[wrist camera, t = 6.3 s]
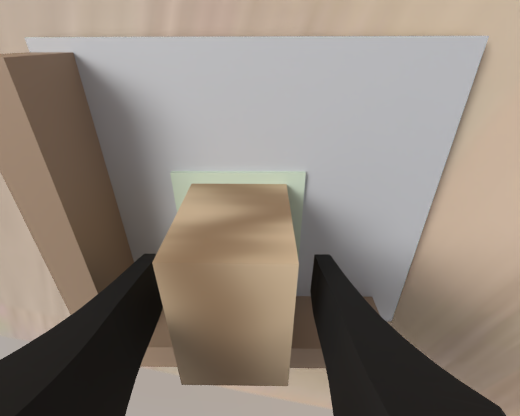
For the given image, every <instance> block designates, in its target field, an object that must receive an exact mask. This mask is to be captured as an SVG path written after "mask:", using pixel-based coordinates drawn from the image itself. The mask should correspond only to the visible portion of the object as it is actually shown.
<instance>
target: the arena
mask: <svg viewBox="0 0 520 416" xmlns="http://www.w3.org/2000/svg"><path fill="white" fill-rule="evenodd" d="M488 37H489V36H271V37H25V40H26V43H27V46H28V48H29V51H30V52H29V53H12V54H0V172H1V174H2V176H3V178H4V180H5V182H6V184H7V186H8V188H9V190H10V192H11V194H12V196H13V198H14V200H15V202H16V204H17V206H18V208H19V210H20V212H21V214H22V216H23V219H24V221H25V223H26V225H27V227H28V229H29V231H30V233H31V235H32V237H33V239H34V241H35V243H36V245H37V247H38V249H39V251H40V253H41V255H42V257H43V259H44V261H45V263H46V265H47V267H48V269H49V271H50V273H51V275H52V277H53V279H54V282H55V284H56V286H57V288H58V290H59V292H60V294H61V296H62V298H63V300H64V302H65V304H66V306H67V308H68V310H69V312H70V314H71V315H72V314H73V313H75V312H76V311H77V310H79V309H80V308H81V307H83V306H84V305H85V304H86V303H88V302H89V301H90V300H91V299H92V298H94V297H95V296H96V295H97V294H99V293H100V292H101V291H102V290H104V289H105V288H106V287H107V286H108V285H109V284H111V283H112V282H113V281H114V280H115V279H116V278H117V277H119V276H120V275H121V274H122V273H123V272H124V271H125V270H126V269H127V268H129V267H130V266H131V265H132V264H133V263H134V262H135V261H136V260H137V259H139V258H140V257H141V256H142V255H143V254H157V252H158V250H159V248H160V246H161V244H162V242H163V240H164V238H165V236H166V234H167V232H168V230H169V228H170V226H171V224H172V222H173V220H174V218H175V216H176V214H177V212H178V210H179V208H180V206H181V204H182V202H183V200H184V198H185V196H186V194H187V192H188V190H189V188H190V186H191V184H287V191H288V197H289V203H290V210H291V216H292V223H293V229H294V235H295V242H296V248H297V255H298V261H299V269H298V280H297V291H296V302H295V313H294V324H293V335H292V346H291V357H290V368H326V366H325V361H324V357H323V353H322V349H321V345H320V341H319V337H318V333H317V328H316V324H315V320H314V316H313V309H312V301H311V293H310V289H311V280H312V272H313V263H314V255H315V254H330V255H331V256H332V258H333V259H334V261H335V262H336V263H337V265H338V266H339V268H340V269H341V270H342V272H343V273H344V274H345V275H346V277H347V278H348V279H349V281H350V282H351V283H352V284H353V286H354V287H355V288H356V289H357V290H358V292H359V293H360V294H361V295H362V296H363V298H364V299H365V300H366V301H367V302H368V303H369V304H370V305H371V306H372V307H373V309H374V310H375V311H376V312H377V313H378V314H379V315H380V316H381V317H382V318H383V319H384V320H385V321H392V318H393V315H394V312H395V310H396V307H397V304H398V301H399V298H400V295H401V292H402V289H403V286H404V283H405V280H406V277H407V274H408V271H409V269H410V266H411V263H412V260H413V257H414V254H415V251H416V248H417V245H418V242H419V239H420V236H421V233H422V230H423V228H424V225H425V222H426V219H427V216H428V213H429V210H430V207H431V204H432V201H433V198H434V195H435V192H436V189H437V187H438V184H439V181H440V178H441V175H442V172H443V169H444V166H445V163H446V160H447V157H448V154H449V151H450V148H451V146H452V143H453V140H454V137H455V134H456V131H457V128H458V125H459V122H460V119H461V116H462V113H463V110H464V107H465V105H466V102H467V99H468V96H469V93H470V90H471V87H472V84H473V81H474V78H475V75H476V72H477V69H478V66H479V64H480V61H481V58H482V55H483V52H484V49H485V46H486V43H487V40H488ZM140 366H148V367H177V363H176V359H175V354H174V350H173V346H172V342H171V338H170V334H169V330H168V326H167V322H166V317H165V313H164V309H162V312H161V315H160V318H159V320H158V323H157V325H156V328H155V330H154V333H153V335H152V338H151V340H150V343H149V345H148V348H147V350H146V353H145V355H144V358H143V360H142V363H141V365H140Z"/></svg>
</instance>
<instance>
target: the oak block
mask: <svg viewBox="0 0 520 416" xmlns="http://www.w3.org/2000/svg"><path fill="white" fill-rule="evenodd" d="M152 264H153V268H154V272H155V276H156V280H157V285H158V289H159V293H160V297H161V301H162V305H163V309H164V313H165V317H166V322H167V326H168V330H169V334H170V338H171V342H172V346H173V350H174V354H175V359H176V363H177V367H178V371H179V375H180V379H181V383H182V385H249V386H288V379H289V368H290V357H291V346H292V335H293V324H294V313H295V302H296V291H297V280H298V269H299V261H298V255H297V248H296V242H295V235H294V229H293V223H292V216H291V210H290V203H289V197H288V191H287V184H191V186H190V188H189V190H188V192H187V194H186V196H185V198H184V200H183V202H182V204H181V206H180V208H179V210H178V212H177V214H176V216H175V218H174V220H173V222H172V224H171V226H170V228H169V230H168V232H167V234H166V236H165V238H164V240H163V242H162V244H161V246H160V248H159V250H158V252H157V254H156V256H155V258H154V260H153V262H152Z"/></svg>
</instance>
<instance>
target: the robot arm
mask: <svg viewBox="0 0 520 416" xmlns="http://www.w3.org/2000/svg"><path fill="white" fill-rule="evenodd" d="M155 256H156V254H143V255H142V256H141V257H140V258H139V259H137V260H136V261H135V262H134V263H133V264H132V265H131V266H130V267H129V268H127V269H126V270H125V271H124V272H123V273H122V274H121V275H120V276H119V277H117V278H116V279H115V280H114V281H113V282H112V283H111V284H109V285H108V286H107V287H106V288H105V289H104V290H102V291H101V292H100V293H99V294H97V295H96V296H95V297H94V298H92V299H91V300H90V301H89V302H88V303H86V304H85V305H84V306H83V307H81V308H80V309H79V310H77V311H76V312H75V313H73V314H72V315H71V316H69V317H68V318H66V319H65V320H63V321H62V322H61V323H59V324H58V325H56V326H55V327H53V328H52V329H50V330H49V331H47V332H46V333H44V334H43V335H41V336H39V337H38V338H36V339H35V340H33V341H31V342H30V343H29V344H26V345H25V346H23V347H22V348H20V349H18V350H17V351H15V352H13V353H12V354H10V355H8V356H6V357H4V358H3V359H1V360H0V416H125V414H126V410H127V406H128V403H129V400H130V396H131V393H132V389H133V386H134V383H135V379H136V376H137V374H138V371H139V368H140V365H141V363H142V360H143V358H144V355H145V353H146V350H147V348H148V345H149V343H150V340H151V338H152V335H153V333H154V330H155V328H156V325H157V323H158V320H159V318H160V315H161V312H162V309H163V305H162V301H161V297H160V293H159V289H158V285H157V280H156V276H155V272H154V268H153V264H152V262H153V260H154V258H155ZM310 293H311V301H312V309H313V316H314V320H315V324H316V328H317V333H318V337H319V341H320V345H321V349H322V353H323V357H324V361H325V366H326V370H327V375H328V380H329V387H330V394H331V400H332V407H333V415H334V416H506V415H505V413H504V412H503V411H502V409H501V408H500V407H499V406H498V405H496V404H495V403H493V402H491V401H490V400H488V399H487V398H485V397H484V396H482V395H481V394H479V393H478V392H476V391H474V390H473V389H471V388H470V387H468V386H467V385H465V384H464V383H462V382H461V381H459V380H458V379H456V378H455V377H454V376H452V375H451V374H449V373H448V372H447V371H445V370H444V369H442V368H441V367H440V366H438V365H437V364H436V363H434V362H433V361H432V360H430V359H429V358H428V357H427V356H425V355H424V354H423V353H422V352H420V351H419V350H418V349H417V348H415V347H414V346H413V345H412V344H410V343H409V342H408V341H407V340H406V339H405V338H403V337H402V336H401V335H400V334H399V333H398V332H397V331H396V330H395V329H393V328H392V327H391V326H390V325H389V324H388V323H387V322H386V321H385V320H384V319H383V318H382V317H381V316H380V315H379V314H378V313H377V312H376V311H375V310H374V309H373V307H372V306H371V305H370V304H369V303H368V302H367V301H366V300H365V299H364V298H363V296H362V295H361V294H360V293H359V292H358V290H357V289H356V288H355V287H354V286H353V284H352V283H351V282H350V281H349V279H348V278H347V277H346V275H345V274H344V273H343V272H342V270H341V269H340V268H339V266H338V265H337V263H336V262H335V261H334V259H333V258H332V256H331V255H330V254H315V255H314V263H313V272H312V280H311V289H310Z"/></svg>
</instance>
